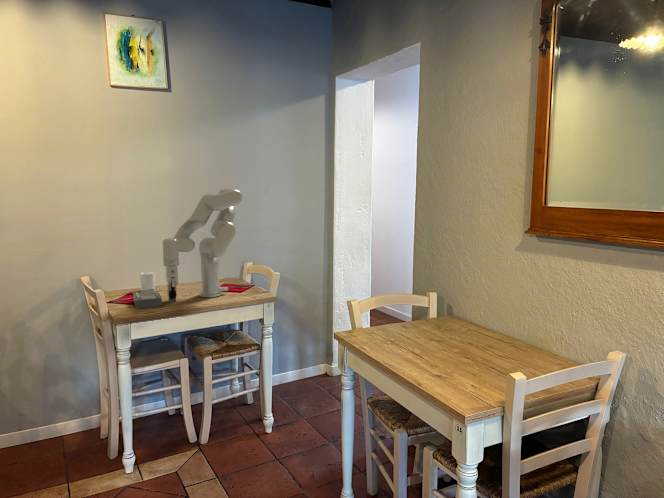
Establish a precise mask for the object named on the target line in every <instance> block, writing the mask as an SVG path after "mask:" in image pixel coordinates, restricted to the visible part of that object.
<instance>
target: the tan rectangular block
mask: <svg viewBox="0 0 664 498" xmlns="http://www.w3.org/2000/svg"><path fill="white" fill-rule="evenodd" d="M171 285H172V284H171ZM166 287H167V289H166V290H167V291H166V293H167V294H166V295H167V297H168V302H169V303H176V302H177V296H178V295H177V293H178V291H177V284H176V283H175V288H176V298H172V299H170V298H169V291H170V286H169V285H168V283H166ZM171 287H172V286H171Z"/></svg>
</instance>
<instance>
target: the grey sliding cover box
mask: <svg viewBox="0 0 664 498" xmlns="http://www.w3.org/2000/svg"><path fill="white" fill-rule="evenodd" d="M154 294H155V296H156V299H147V300H142V299H141V292H137V291H136V292H133V303H134V306H135V309H136V310H137V309H146V308H148V309H149V308H158V307H162V306H163V302H162V301H163V300H162V299H163V298H162V296H161V295H160V292H159V291H158V290H154Z"/></svg>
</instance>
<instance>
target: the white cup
mask: <svg viewBox="0 0 664 498" xmlns="http://www.w3.org/2000/svg"><path fill="white" fill-rule="evenodd" d="M139 276H140V277H139V278H140V287H141V289H152V288H154V291H156V290H155V289H156V288H155V287H156V272H155V271H143V272H141V273H139Z"/></svg>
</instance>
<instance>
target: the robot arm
mask: <svg viewBox="0 0 664 498" xmlns="http://www.w3.org/2000/svg"><path fill="white" fill-rule="evenodd" d="M242 200H243V194H242V192H241V191H240V190H238V189H235V188H222V189H220V190H219V192H218V193H217V194H215V193H214V194H213V193H207V194H203V195H202V197H201V198H200V200H199V202H198V203H197V205H196V207H195V209H194V211H192V212H193V213H192V214H191V216H190V217H189V218H188V219H186V221H185V222H183V224H182V225H181V226H180V227H179V228H178V230H177V231H176V234H175V235H174V237H172V238H171V237H170V238H167V237H166V238H164V239H163V240H162V256H163V257H162V261H163V263H162V264H163V266H164V267H165V277H166V284H168V285H169V286H170V291H169V298H170V299H172V298H176V299H177V296H176V290H177V287H176V288H175V284H176V286H178V285H179V272H178V266H179V265H180V262H179V261H180V260H179V259H180V258H179V253H190V252H192V251H194V249H195V248H196V243H195V241H194V240H193V238H190V237H191V236H192V234H193V233H194V232H196V231H197V230H199V229H201V228H203V227H204V226H206V225H207V223H208V221H209V219H210V217H211V216H212V214H213V212H214V211H215V212H216V211H217V212H218V211H219V212H218V214H217V216H216V218H215V220H214V221H213V223H212V225H211V228H210V233H211V235H212V236H213V237H204V238H203V239H201V240H200V242H199V246H198V250H199V255H200V274H201V275H200V278H201V280H200V285H201V286H200V287H201V290H200V291H199V292H198V296H199V297H201V298H202V297H203V298H216V297H217V296H218V297H221V296H222V295H223V292H224V291H225V292H226V291H227V292H228V291H229V287H228V286H221V285H220V260H219V258H222V257H223V256H225V254H226V253H227V252H228V250H229V248H230V247H231V244H232V243H233V241H234V239H235V236H236V232H237V230H236V226H235V225H234V223H233V221H234V219H235V217H236V206H239V204H240V203H241V202H242ZM171 284H172V285H171ZM171 286H172V287H171ZM220 295H221V296H220ZM218 297H217V298H218Z"/></svg>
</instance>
